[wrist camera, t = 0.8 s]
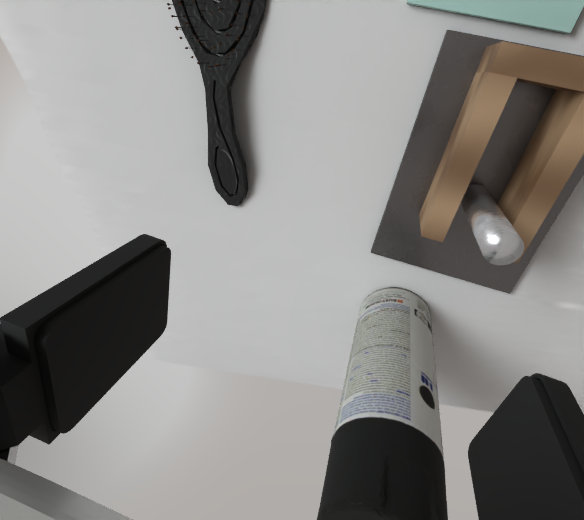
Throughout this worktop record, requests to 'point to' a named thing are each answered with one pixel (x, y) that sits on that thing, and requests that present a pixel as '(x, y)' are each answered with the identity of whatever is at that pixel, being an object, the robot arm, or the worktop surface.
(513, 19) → the mat
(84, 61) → the worktop surface
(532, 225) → the arch block
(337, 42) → the worktop surface
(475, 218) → the stand
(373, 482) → the spray can
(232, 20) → the hairbrush
